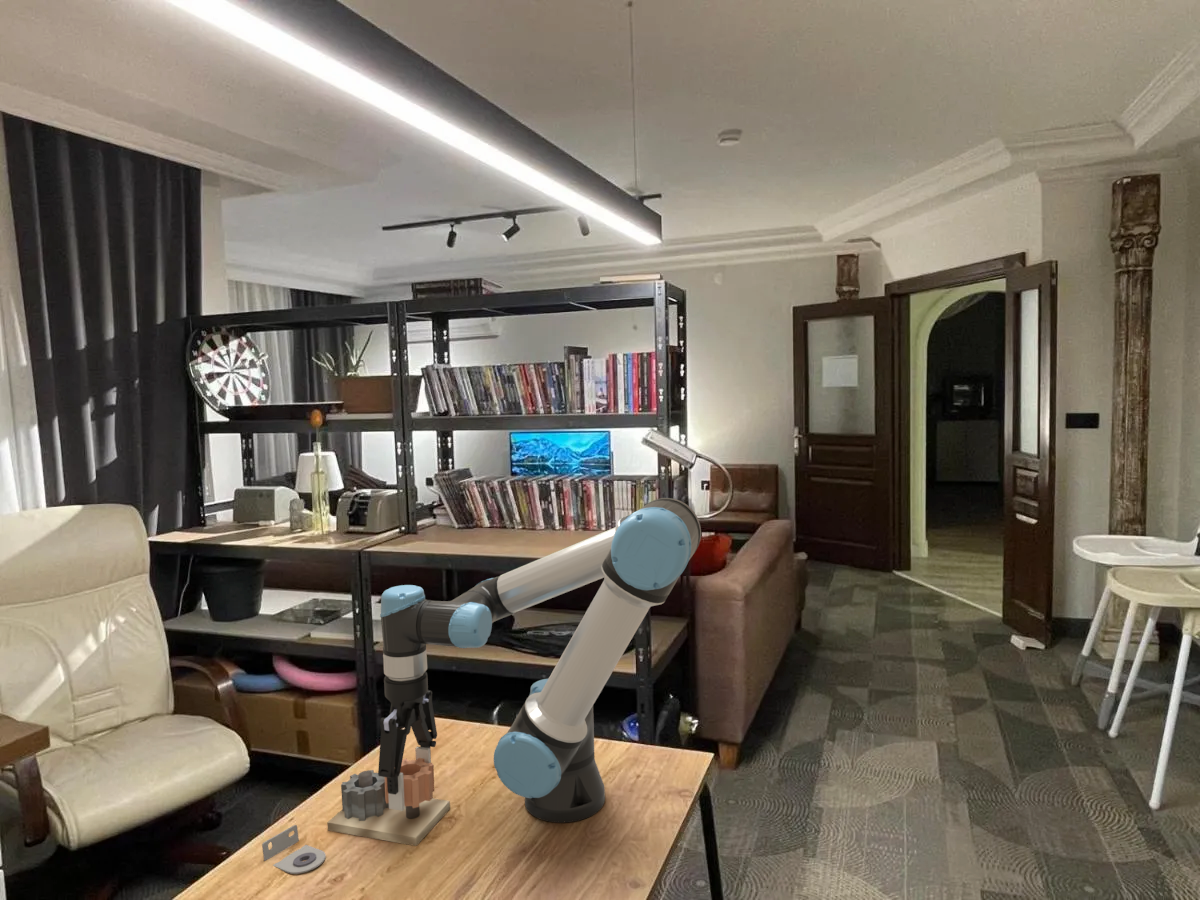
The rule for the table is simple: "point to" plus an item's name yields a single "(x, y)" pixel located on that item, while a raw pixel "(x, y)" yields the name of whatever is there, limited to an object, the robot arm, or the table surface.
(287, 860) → the bracket
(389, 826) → the gear board
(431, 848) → the table surface
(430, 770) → the gear
